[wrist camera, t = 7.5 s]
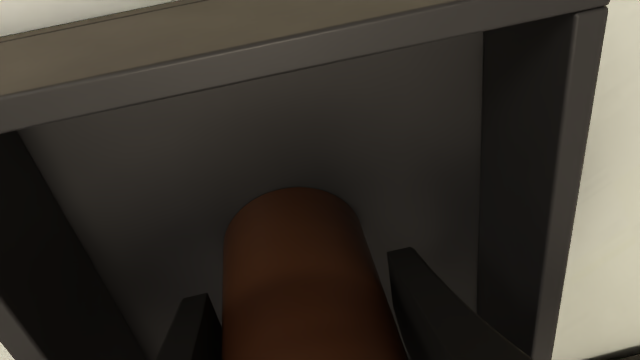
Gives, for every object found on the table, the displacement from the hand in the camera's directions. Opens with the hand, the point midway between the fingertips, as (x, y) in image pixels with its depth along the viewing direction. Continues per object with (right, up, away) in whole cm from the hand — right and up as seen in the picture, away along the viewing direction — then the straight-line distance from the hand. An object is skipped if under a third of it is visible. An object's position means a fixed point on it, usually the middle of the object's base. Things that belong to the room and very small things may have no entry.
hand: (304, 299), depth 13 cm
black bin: (0, +1, +2) cm, 3 cm away
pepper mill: (0, +1, +2) cm, 2 cm away
